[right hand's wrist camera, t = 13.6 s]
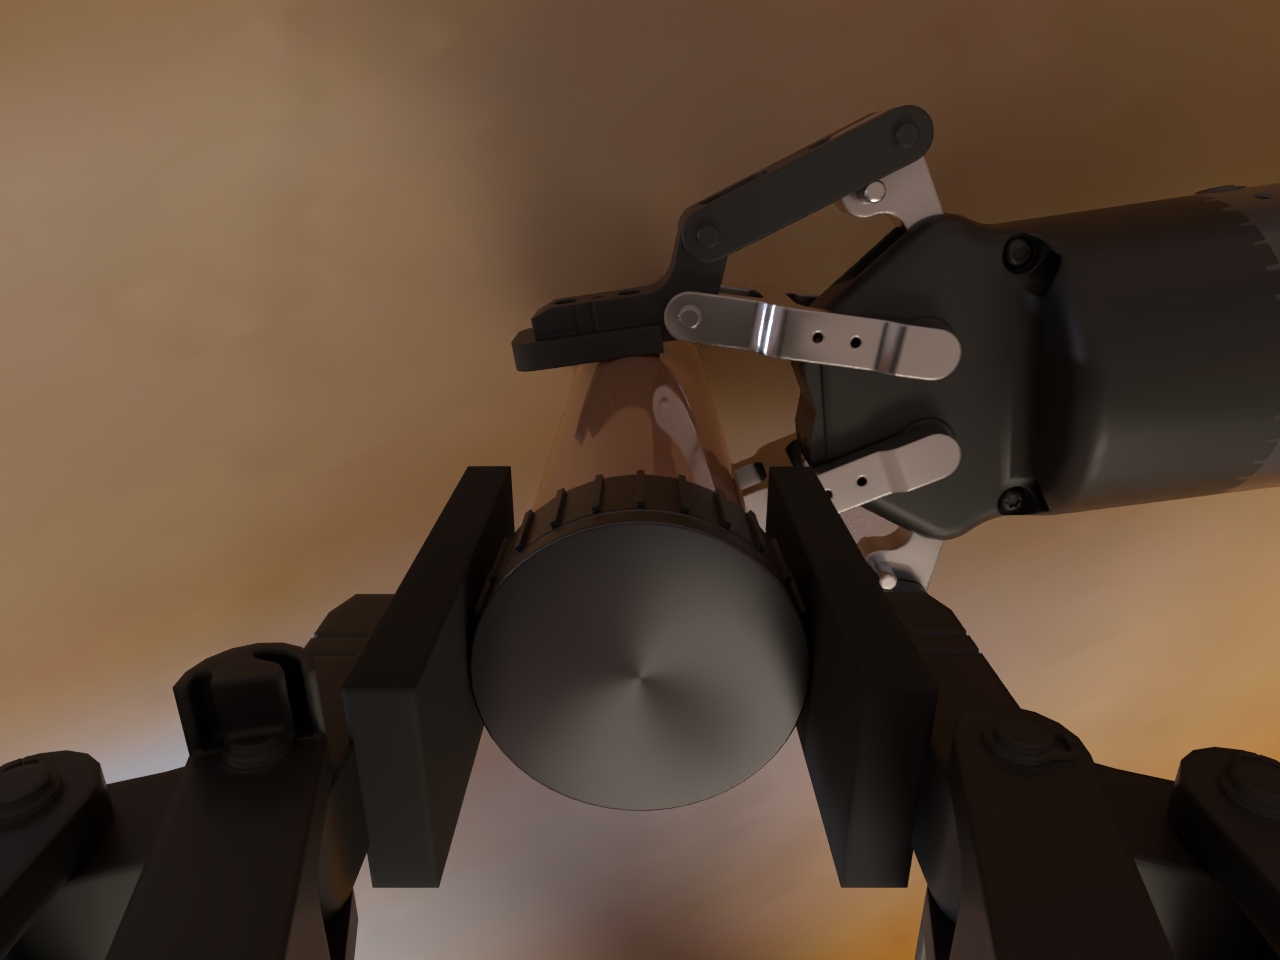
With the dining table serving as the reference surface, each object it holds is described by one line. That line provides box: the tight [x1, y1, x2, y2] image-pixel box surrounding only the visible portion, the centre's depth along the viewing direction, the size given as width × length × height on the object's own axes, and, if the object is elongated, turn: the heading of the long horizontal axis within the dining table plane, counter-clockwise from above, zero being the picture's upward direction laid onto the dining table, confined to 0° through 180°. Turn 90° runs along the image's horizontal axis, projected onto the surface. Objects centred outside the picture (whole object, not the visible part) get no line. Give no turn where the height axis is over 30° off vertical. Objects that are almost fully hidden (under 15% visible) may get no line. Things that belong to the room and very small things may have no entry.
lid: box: [469, 470, 812, 811], centre depth 11 cm, size 5×5×2 cm
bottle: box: [532, 340, 749, 513], centre depth 19 cm, size 4×4×17 cm
